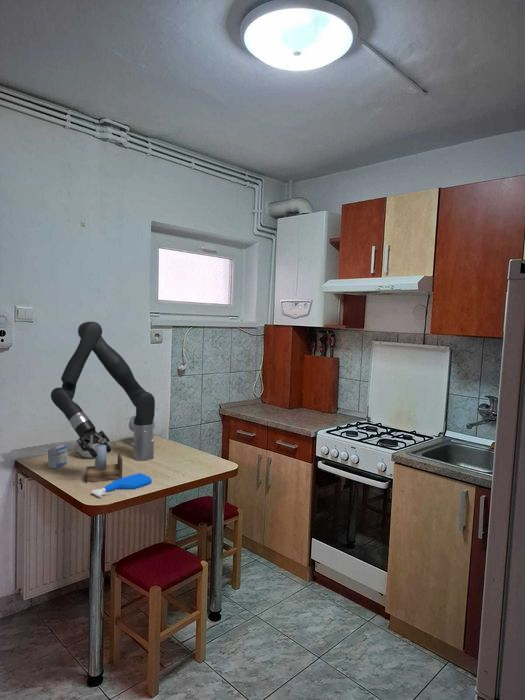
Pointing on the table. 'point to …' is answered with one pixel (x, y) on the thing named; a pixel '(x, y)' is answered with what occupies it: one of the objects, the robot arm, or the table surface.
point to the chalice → (131, 426)
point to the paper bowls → (86, 453)
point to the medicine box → (57, 456)
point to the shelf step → (105, 472)
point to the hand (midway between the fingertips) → (103, 454)
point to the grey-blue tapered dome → (100, 457)
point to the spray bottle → (125, 484)
